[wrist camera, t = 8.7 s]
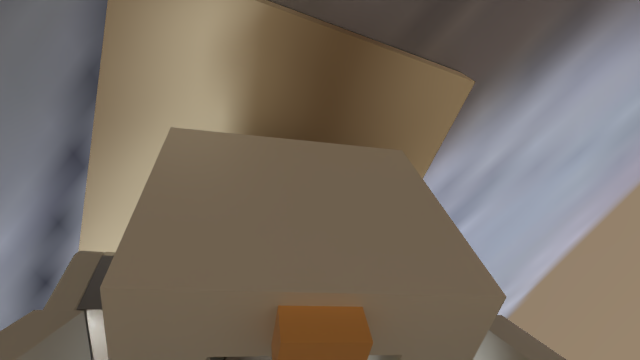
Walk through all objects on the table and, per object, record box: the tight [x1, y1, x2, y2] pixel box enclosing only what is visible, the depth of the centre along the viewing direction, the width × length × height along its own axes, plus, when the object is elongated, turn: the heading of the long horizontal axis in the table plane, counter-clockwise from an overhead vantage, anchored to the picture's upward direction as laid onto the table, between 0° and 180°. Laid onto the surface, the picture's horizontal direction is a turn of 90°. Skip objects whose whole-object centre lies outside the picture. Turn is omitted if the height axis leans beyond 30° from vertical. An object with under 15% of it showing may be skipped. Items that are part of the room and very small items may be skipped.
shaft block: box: [79, 0, 475, 360], centre depth 11 cm, size 10×10×7 cm
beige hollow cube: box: [100, 127, 506, 360], centre depth 9 cm, size 6×6×6 cm
